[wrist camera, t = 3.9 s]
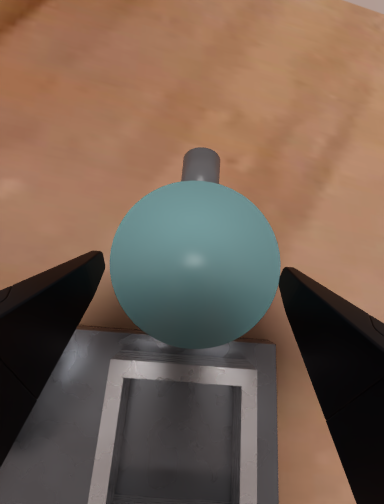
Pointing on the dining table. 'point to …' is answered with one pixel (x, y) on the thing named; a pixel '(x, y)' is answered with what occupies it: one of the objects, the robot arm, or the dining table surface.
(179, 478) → the motor plate
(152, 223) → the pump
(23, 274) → the dining table surface
